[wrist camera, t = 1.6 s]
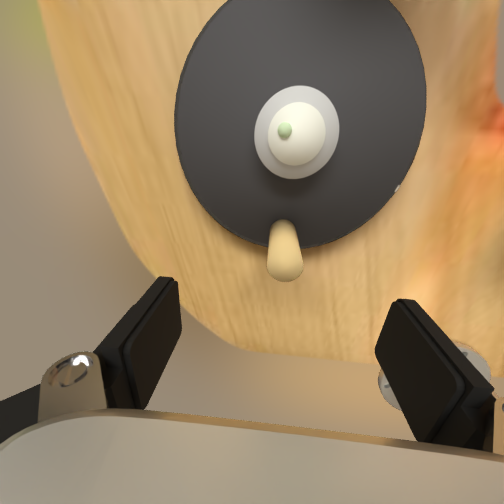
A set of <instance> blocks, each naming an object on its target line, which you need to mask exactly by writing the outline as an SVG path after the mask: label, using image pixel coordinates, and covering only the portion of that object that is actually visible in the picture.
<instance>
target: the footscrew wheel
mask: <svg viewBox="0 0 504 504" xmlns="http://www.w3.org/2000/svg"><path fill="white" fill-rule="evenodd" d="M424 114H425V80H424V72H423V66H422V63H421V59H420V55H419V52H418V48H417V46H416V44H415V41H414V39H413V37H412V34H411V32H410V30H409V28H408V27H407V25H406V24H405V22H404V21H403V19H402V17H401V16H400V14H399V13H398V12H397V11H396V10H395V9H394V7H393V6H392V5H391V4H390V3H389V2H388V1H387V0H233V1H231V2H230V3H229V4H228V5H227V6H226V7H225V8H223V9H222V11H221V12H220V13H219V14H218V15H217V16H216V17H215V19H214V20H213V21H212V22H211V23H210V25H209V26H208V28H207V29H206V31H205V32H204V34H203V35H202V37H201V38H200V40H199V41H198V43H197V45H196V47H195V49H194V51H193V53H192V55H191V57H190V60H189V63H188V66H187V68H186V71H185V74H184V77H183V82H182V86H181V90H180V95H179V105H178V136H179V145H180V150H181V154H182V158H183V162H184V165H185V168H186V171H187V173H188V176H189V178H190V180H191V182H192V184H193V186H194V188H195V190H196V192H197V193H198V195H199V196H200V198H201V199H202V201H203V202H204V204H205V205H206V206H207V207H208V208H209V210H210V211H211V212H212V213H213V214H214V215H215V216H216V217H217V218H218V219H219V220H220V221H221V222H223V223H224V224H225V225H227V226H228V227H229V228H231V229H232V230H234V231H235V232H237V233H239V234H241V235H242V236H244V237H247V238H249V239H252V240H254V241H257V242H260V243H264V244H267V245H269V247H268V258H267V270H268V272H269V274H270V275H271V276H272V277H273V278H274V279H276V280H278V281H281V282H289V281H292V280H295V279H296V278H298V277H299V276H300V274H301V273H302V271H303V260H302V256H301V251H300V247H301V246H310V245H314V244H319V243H323V242H326V241H329V240H332V239H335V238H337V237H339V236H341V235H343V234H345V233H347V232H349V231H351V230H352V229H354V228H356V227H357V226H359V225H360V224H362V223H363V222H364V221H366V220H367V219H368V218H369V217H371V216H372V215H373V214H374V213H375V212H376V211H377V210H378V209H379V208H380V207H381V206H382V205H383V204H384V203H385V202H386V201H387V200H388V198H389V197H390V196H391V195H392V194H393V192H394V191H395V190H396V188H397V187H398V185H399V184H400V182H401V181H402V179H403V178H404V176H405V174H406V172H407V170H408V168H409V166H410V164H411V162H412V160H413V157H414V154H415V152H416V149H417V146H418V143H419V139H420V136H421V132H422V128H423V121H424Z"/></svg>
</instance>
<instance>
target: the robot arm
mask: <svg viewBox="0 0 504 504" xmlns="http://www.w3.org/2000/svg"><path fill="white" fill-rule="evenodd" d="M181 331H182V325H181V314H180V302H179V290H178V282H177V281H174V279H173V278H172V277H162V276H160V277H158V278H157V279H156V281H155V282H154V283H153V284H152V286H151V287H150V288H149V289H148V290H147V291H146V293H145V294H144V295H143V296H142V297H141V298H140V300H139V301H138V302H137V303H136V304H135V305H133V306H132V307H131V308H130V310H128V312H127V313H126V314H125V315H124V316H123V318H122V319H121V320H120V321H119V322H118V323H117V324H116V326H115V327H114V328H113V329H112V330H111V332H110V333H109V334H108V335H107V336H106V337H105V339H104V340H103V341H102V342H101V343H100V345H99V346H98V347H97V348H96V349H95V350H94V351H93V352H88V351H84V352H77V353H73V354H70V355H68V356H65V357H63V358H61V359H60V360H58V361H57V362H55V363H54V364H53V365H52V366H51V367H49V368H48V369H47V371H46V372H45V374H44V375H43V377H42V380H41V384H39V385H36V386H34V387H32V388H30V389H27V390H25V391H23V392H20V393H18V394H16V395H14V396H11V397H9V398H7V399H5V400H2V401H0V504H504V397H499V396H498V395H497V394H496V393H495V392H494V387H493V386H492V385H491V384H490V378H491V372H490V367H489V365H488V363H487V362H486V361H485V360H484V359H483V357H482V356H481V355H480V354H479V353H478V352H476V351H475V350H474V349H473V348H471V347H469V346H467V345H464V344H461V343H458V342H452V341H451V340H450V339H449V338H448V336H447V335H446V334H445V333H444V332H443V331H442V330H441V329H440V328H439V326H438V325H437V324H436V323H435V322H434V321H433V320H432V319H431V318H430V316H429V315H428V314H427V313H426V312H425V311H424V310H423V309H422V308H421V306H420V305H419V304H418V303H417V302H416V301H415V300H410V299H397V300H396V302H393V303H392V304H391V307H390V309H389V312H388V315H387V317H386V320H385V323H384V325H383V328H382V330H381V333H380V336H379V338H378V341H377V344H376V346H375V355H376V358H377V360H378V362H379V364H380V366H381V370H380V372H379V377H378V384H379V388H380V390H381V393H382V395H383V397H384V398H385V400H386V401H387V402H388V403H389V404H391V405H392V406H393V407H395V408H396V409H399V410H401V411H402V412H403V414H404V416H405V418H406V420H407V422H408V424H409V426H410V428H411V430H412V433H413V435H414V437H415V438H416V440H417V441H418V442H417V441H409V440H401V439H392V438H385V437H376V436H369V435H361V434H352V433H345V432H336V431H327V430H320V429H311V428H303V427H295V426H286V425H277V424H269V423H261V422H252V421H244V420H235V419H226V418H217V417H208V416H200V415H191V414H182V413H171V412H160V411H150V410H144V409H145V407H146V406H147V404H148V402H149V400H150V398H151V396H152V394H153V392H154V390H155V388H156V386H157V383H158V381H159V379H160V377H161V375H162V373H163V371H164V369H165V367H166V365H167V362H168V360H169V358H170V356H171V354H172V352H173V350H174V348H175V346H176V343H177V341H178V339H179V337H180V335H181Z"/></svg>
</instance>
